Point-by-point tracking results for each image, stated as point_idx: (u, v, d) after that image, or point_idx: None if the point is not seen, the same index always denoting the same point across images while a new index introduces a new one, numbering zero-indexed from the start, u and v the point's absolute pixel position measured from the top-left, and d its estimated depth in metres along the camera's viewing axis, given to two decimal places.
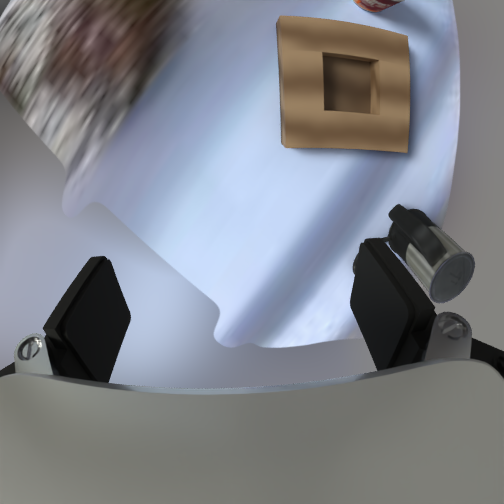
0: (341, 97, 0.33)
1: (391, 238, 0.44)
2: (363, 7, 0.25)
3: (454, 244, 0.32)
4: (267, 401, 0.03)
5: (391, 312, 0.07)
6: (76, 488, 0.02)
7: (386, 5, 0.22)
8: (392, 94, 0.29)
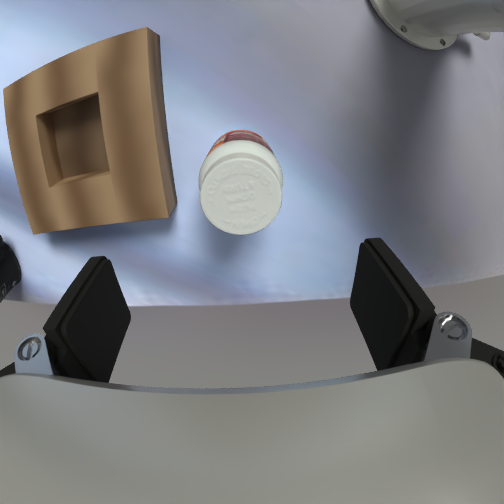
0: (69, 136, 0.23)
1: None
2: None
3: None
4: (267, 401, 0.03)
5: (391, 312, 0.07)
6: (76, 488, 0.02)
7: None
8: (76, 200, 0.24)
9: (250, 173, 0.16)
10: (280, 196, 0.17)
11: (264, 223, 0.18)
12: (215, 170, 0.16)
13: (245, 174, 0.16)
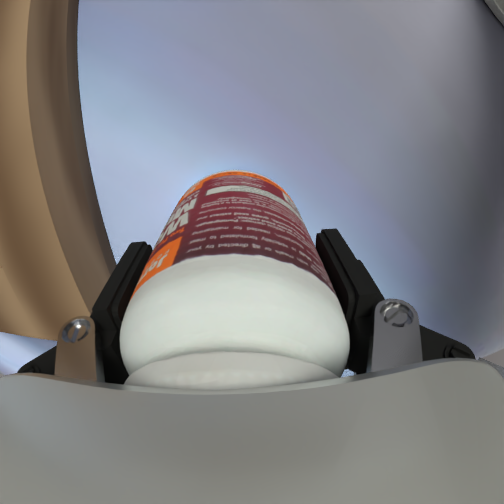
0: None
1: None
2: None
3: None
4: (267, 401, 0.03)
5: None
6: (76, 488, 0.02)
7: None
8: None
9: None
10: None
11: None
12: None
13: None
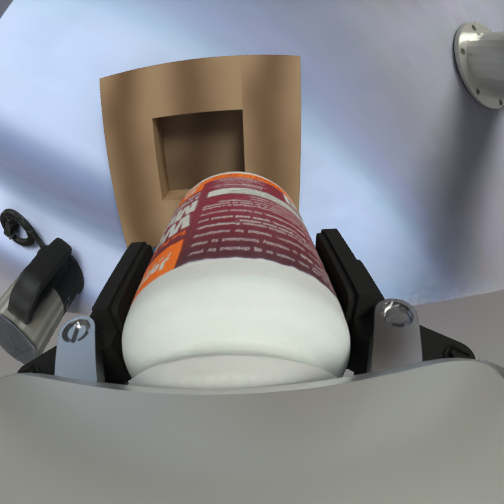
0: (183, 146, 0.26)
1: (43, 250, 0.31)
2: None
3: (42, 333, 0.24)
4: (267, 401, 0.03)
5: (338, 299, 0.08)
6: (76, 488, 0.02)
7: None
8: None
9: None
10: None
11: None
12: None
13: None
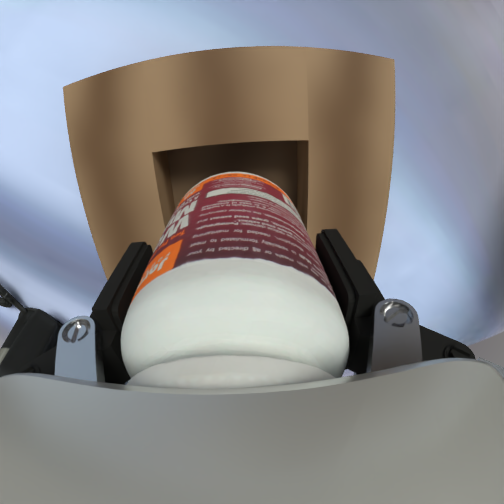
0: None
1: (24, 314, 0.22)
2: None
3: None
4: (267, 401, 0.03)
5: (338, 299, 0.08)
6: (76, 488, 0.02)
7: None
8: None
9: None
10: None
11: None
12: None
13: None
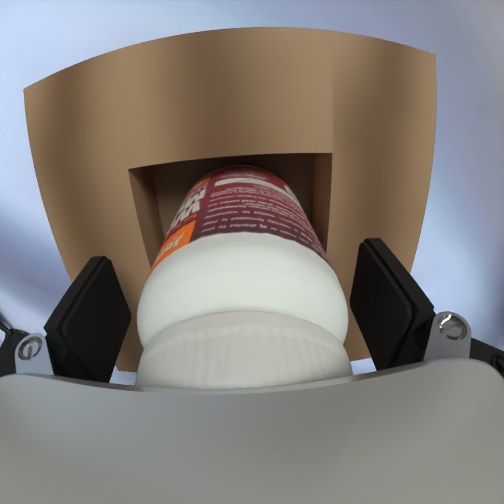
0: None
1: (10, 336, 0.19)
2: None
3: None
4: (267, 401, 0.03)
5: (390, 312, 0.07)
6: (76, 488, 0.02)
7: None
8: None
9: None
10: None
11: None
12: None
13: None
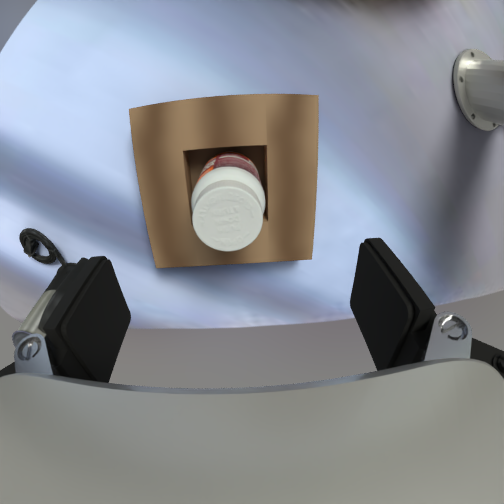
0: None
1: (65, 267, 0.34)
2: None
3: None
4: (267, 401, 0.03)
5: (391, 312, 0.07)
6: (76, 488, 0.02)
7: None
8: None
9: (235, 199, 0.19)
10: (261, 218, 0.20)
11: (247, 241, 0.21)
12: (205, 197, 0.19)
13: (231, 200, 0.19)
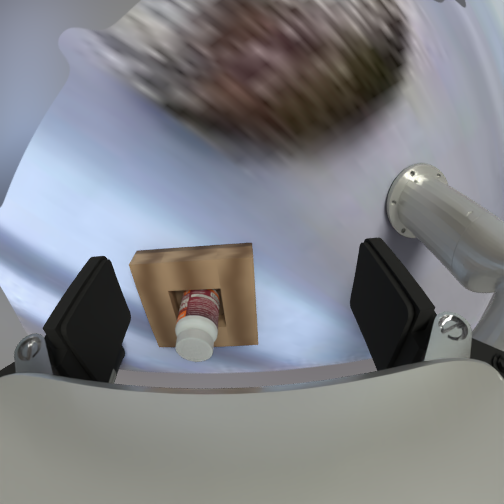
0: None
1: None
2: (182, 296, 0.44)
3: None
4: (267, 401, 0.03)
5: (391, 312, 0.07)
6: (76, 488, 0.02)
7: None
8: None
9: (196, 343, 0.35)
10: (211, 350, 0.36)
11: (206, 358, 0.36)
12: (180, 341, 0.34)
13: (194, 343, 0.35)
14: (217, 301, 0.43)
